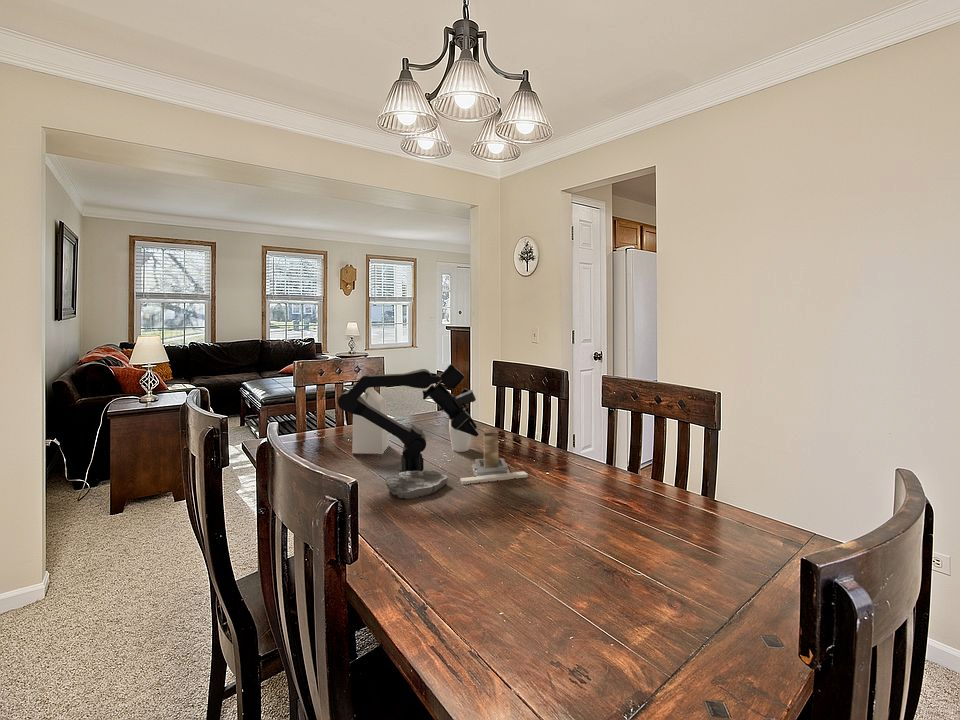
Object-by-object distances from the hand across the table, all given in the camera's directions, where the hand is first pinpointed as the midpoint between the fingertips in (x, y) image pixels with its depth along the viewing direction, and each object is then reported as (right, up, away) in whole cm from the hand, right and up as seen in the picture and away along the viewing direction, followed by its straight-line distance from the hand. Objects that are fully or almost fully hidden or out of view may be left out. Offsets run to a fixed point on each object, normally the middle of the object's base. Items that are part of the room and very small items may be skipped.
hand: (476, 431), depth 164 cm
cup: (-6, -11, +27) cm, 30 cm away
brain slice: (-19, -16, -15) cm, 29 cm away
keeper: (+5, -13, +2) cm, 14 cm away
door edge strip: (+6, -14, -7) cm, 17 cm away
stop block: (+5, -13, +2) cm, 14 cm away
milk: (-41, -11, +26) cm, 50 cm away
